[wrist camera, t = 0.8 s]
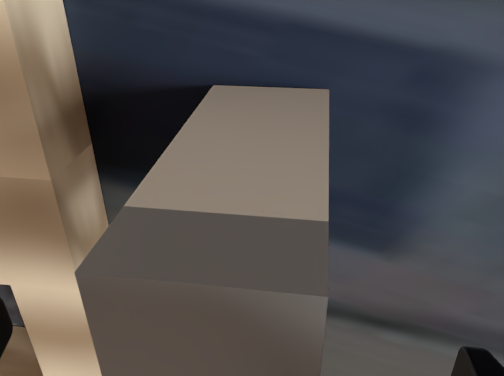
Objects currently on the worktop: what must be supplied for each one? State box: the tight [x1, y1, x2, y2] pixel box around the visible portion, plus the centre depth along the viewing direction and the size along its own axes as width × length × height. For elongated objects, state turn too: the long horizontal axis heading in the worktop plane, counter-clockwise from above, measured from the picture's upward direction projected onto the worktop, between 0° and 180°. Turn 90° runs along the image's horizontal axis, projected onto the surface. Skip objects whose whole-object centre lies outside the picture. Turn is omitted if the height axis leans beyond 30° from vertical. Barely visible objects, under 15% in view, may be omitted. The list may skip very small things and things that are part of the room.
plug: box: [74, 85, 329, 376], centre depth 12 cm, size 4×4×10 cm
